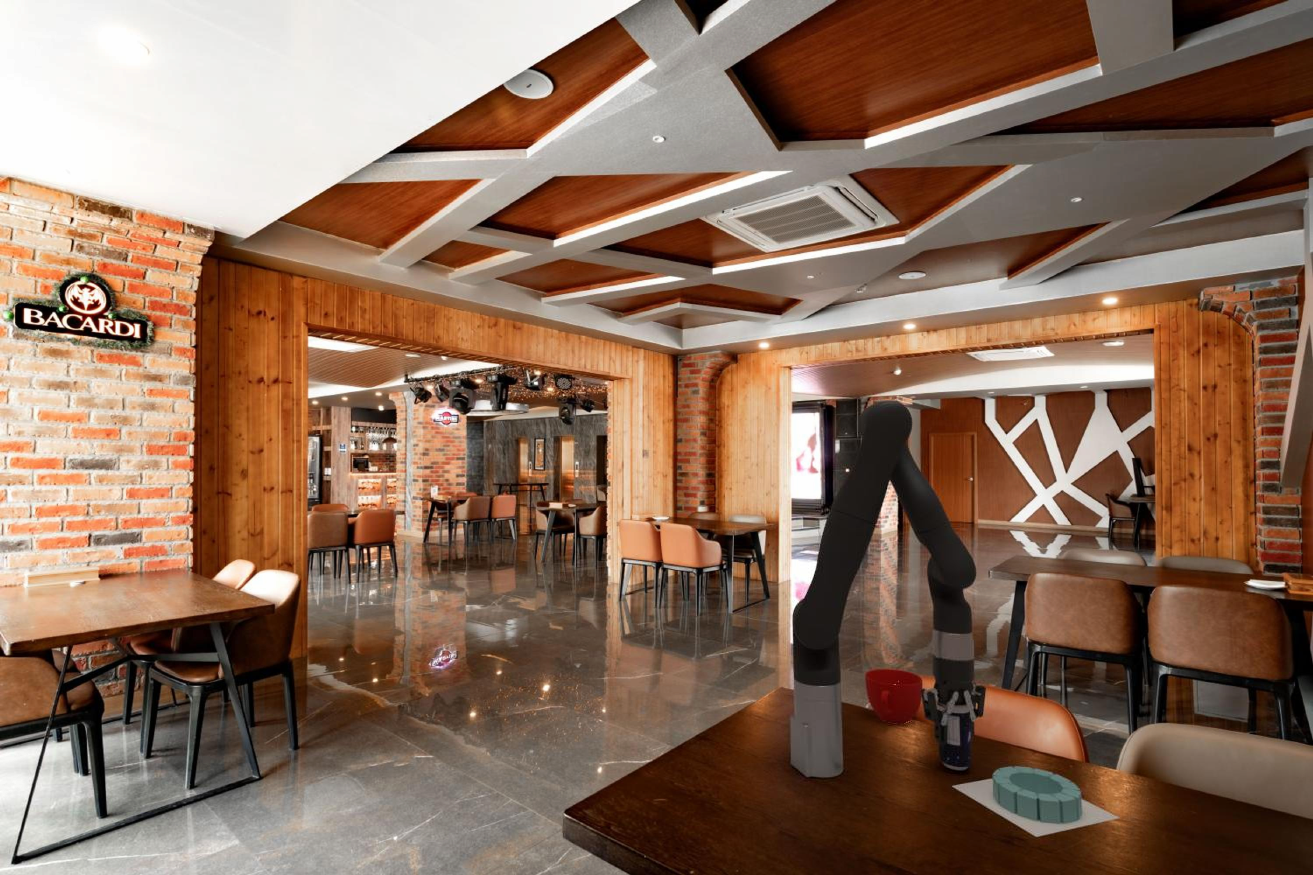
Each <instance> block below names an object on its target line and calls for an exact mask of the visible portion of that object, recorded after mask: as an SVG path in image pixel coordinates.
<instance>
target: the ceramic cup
mask: <svg viewBox="0 0 1313 875" xmlns="http://www.w3.org/2000/svg"><path fill="white" fill-rule="evenodd" d="M864 677H865V678H864V680H865V689H866V695H867V698H868V701H869V704H870V706H871V708H872V710H873V711H874V712H875V714H876V715H877V717H879V718H881V719H882V721H883V720H884V721H883V722H885V721H886V722H885V723H887V722H891V723H897V724H896V725H905V724H904V723H906V722H908V721H909V722H910V721H911V720H912V719H913V718H914V717H915V716H916V714H917V713H918V711H919V709H920V707H921V704H922V696H921V690H922V689H923V678H922V677H921V676H920V675H918V674H916V673H914V672H910V671H905V670H900V669H893V668H891V669H890V668H882V669H881V668H880V669H877V668H876V669H871V670H868V671H866V672H865V674H864ZM898 681H899V682H898ZM894 684H896V685H894ZM881 719H880V720H881ZM909 722H908V723H909ZM891 723H890V724H891ZM906 724H907V723H906Z"/></svg>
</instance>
